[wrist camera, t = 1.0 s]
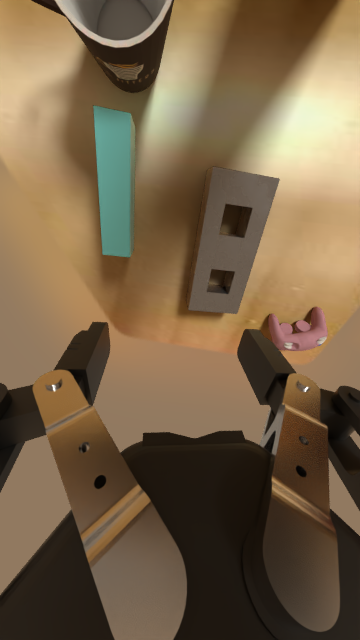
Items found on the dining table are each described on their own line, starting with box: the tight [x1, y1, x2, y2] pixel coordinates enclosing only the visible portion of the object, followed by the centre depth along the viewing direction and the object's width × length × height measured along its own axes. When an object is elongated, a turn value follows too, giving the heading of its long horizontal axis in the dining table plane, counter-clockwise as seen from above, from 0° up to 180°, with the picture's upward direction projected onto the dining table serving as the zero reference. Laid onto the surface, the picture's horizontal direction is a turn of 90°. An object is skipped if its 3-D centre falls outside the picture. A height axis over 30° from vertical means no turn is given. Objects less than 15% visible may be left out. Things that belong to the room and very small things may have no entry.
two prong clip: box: [93, 105, 136, 257], centre depth 23 cm, size 12×3×7 cm, turn 172°
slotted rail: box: [186, 167, 280, 314], centre depth 29 cm, size 18×8×4 cm, turn 172°
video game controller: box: [268, 307, 328, 351], centre depth 36 cm, size 10×5×7 cm, turn 97°
